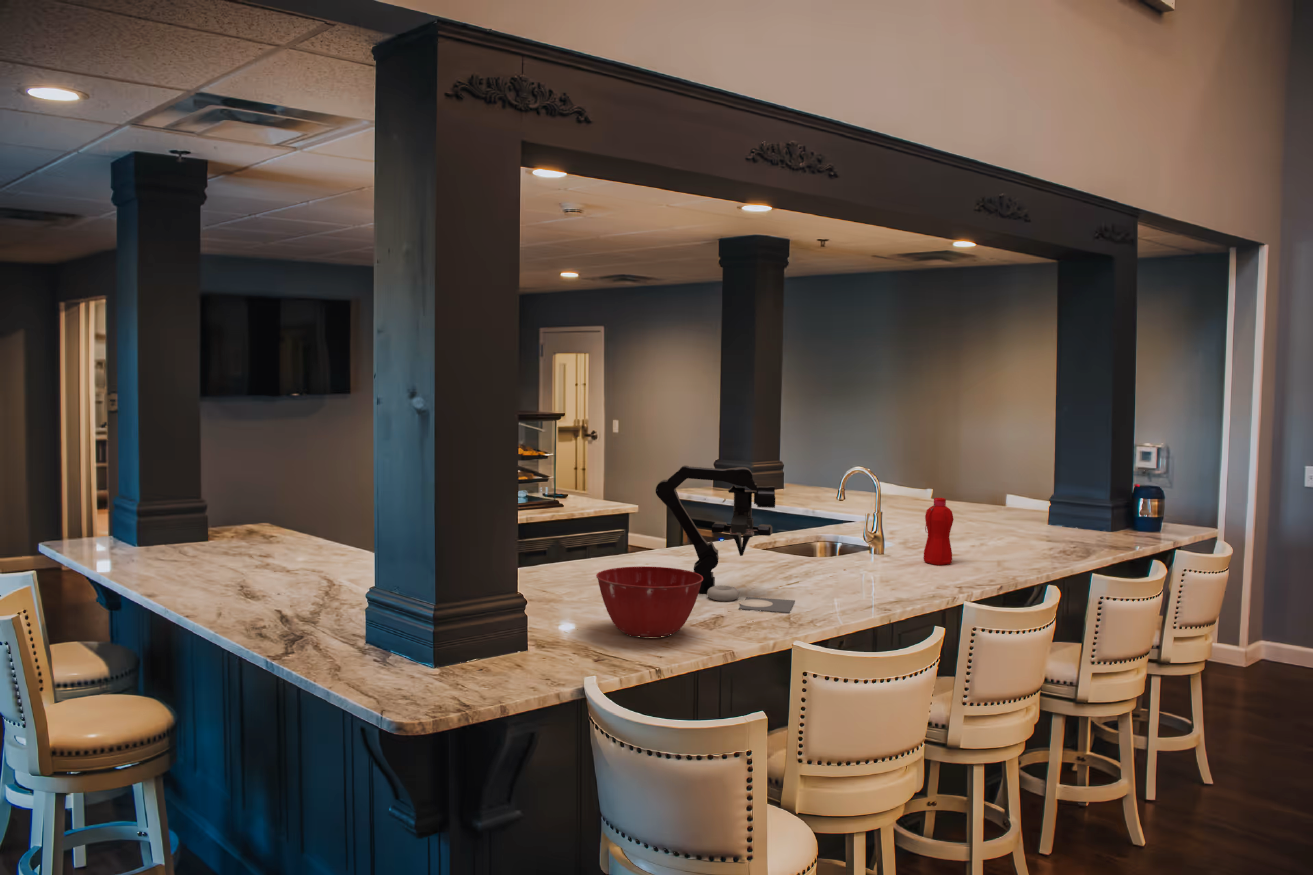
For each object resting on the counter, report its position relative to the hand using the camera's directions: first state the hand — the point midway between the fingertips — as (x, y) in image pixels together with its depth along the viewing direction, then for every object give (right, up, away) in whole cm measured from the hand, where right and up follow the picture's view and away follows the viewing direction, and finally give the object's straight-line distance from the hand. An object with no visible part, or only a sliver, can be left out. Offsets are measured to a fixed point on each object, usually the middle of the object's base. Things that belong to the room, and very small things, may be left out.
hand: (741, 555), depth 308 cm
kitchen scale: (+6, -13, -16) cm, 22 cm away
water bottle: (+79, -10, +58) cm, 99 cm away
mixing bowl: (-29, -15, -50) cm, 59 cm away
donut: (-4, -11, -13) cm, 17 cm away
